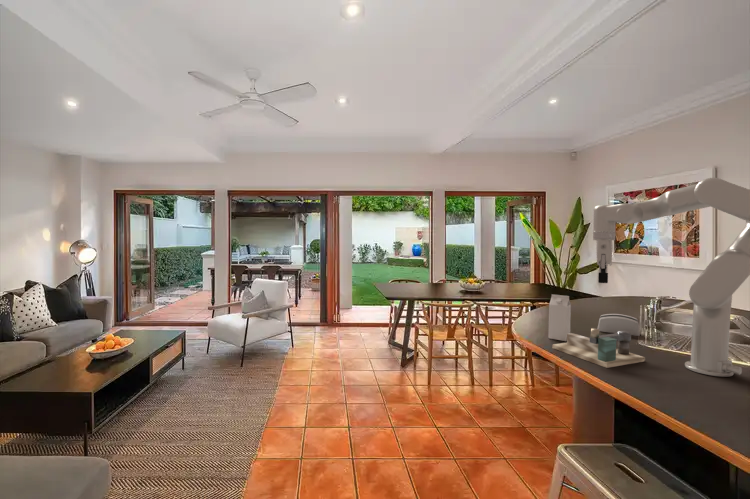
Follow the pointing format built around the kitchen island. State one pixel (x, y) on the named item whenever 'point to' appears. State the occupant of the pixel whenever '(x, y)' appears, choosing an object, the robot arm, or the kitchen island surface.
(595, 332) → the swing bar
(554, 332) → the milk carton
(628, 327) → the grey curved block
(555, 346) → the base
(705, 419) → the kitchen island surface
